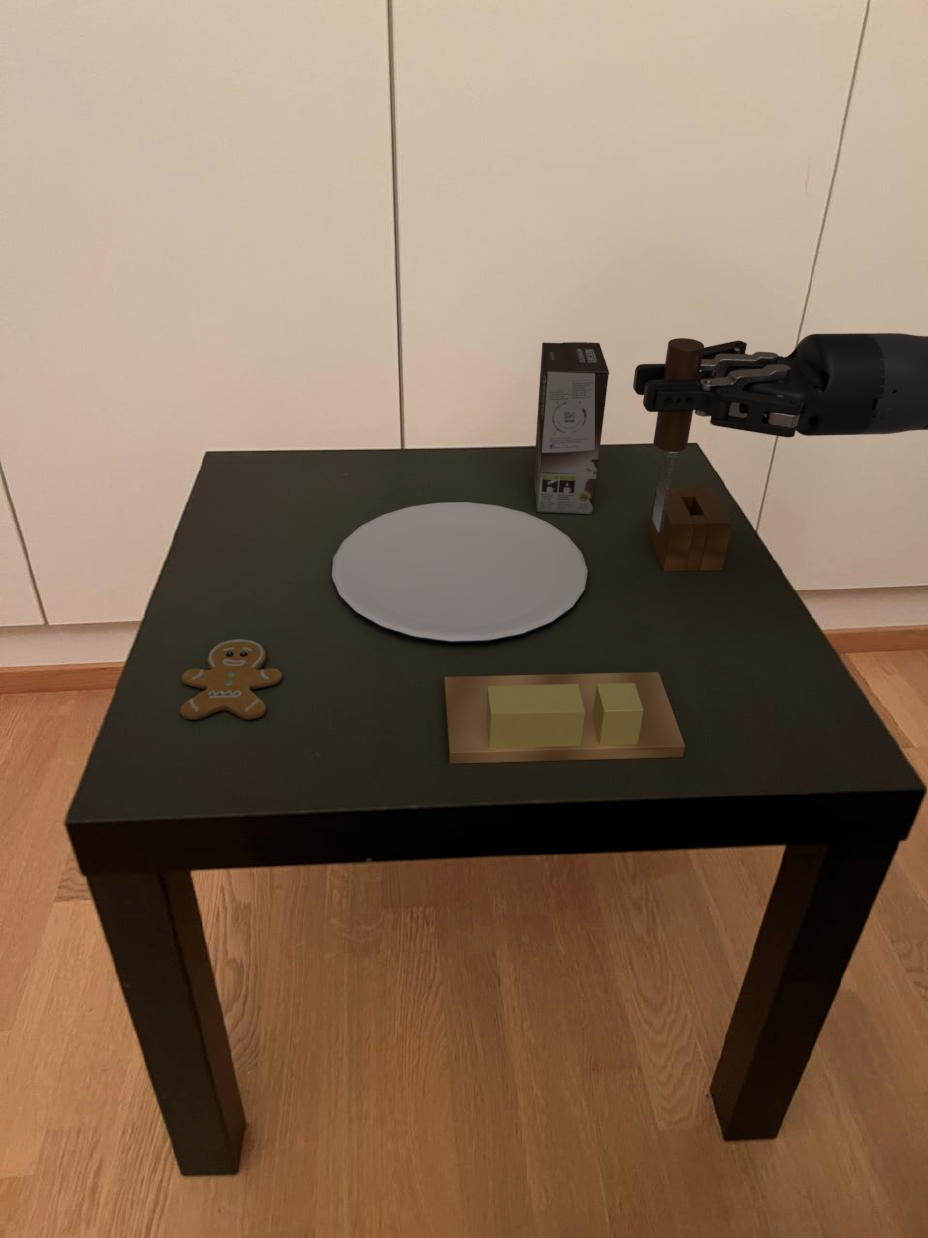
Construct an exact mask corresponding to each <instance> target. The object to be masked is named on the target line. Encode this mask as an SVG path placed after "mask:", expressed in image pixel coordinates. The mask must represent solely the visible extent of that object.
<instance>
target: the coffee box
mask: <svg viewBox="0 0 928 1238" xmlns="http://www.w3.org/2000/svg"><path fill="white" fill-rule="evenodd" d="M540 355H541V356H540V357H541V358H540V369H539V371H540V372H539V386H538V389H539V390H538V400H537V401H538V402H537V418H536V433H535V434H536V436H535V453H534V464H533V465H534V468H533V484H534V485H533V486H534V494H535V504H536V505H535V507H536V512H538V513H552V514H553V513H554V514H578V515H581V514H582V515H591V514H593V510H594V502H595V494H596V493H595V492H596V485H597V477H598V469H599V468H598V467H599V461H600V460H599V458H600V451H601V442H602V434H603V425H604V417H605V408H606V401H607V392H608V383H609V376H610V370H609V367H608V364H607V362H606V358H605V356H604V353H603V350H602V346H601V344H600V342H586V341H585V342H584V341H583V342H582V341H579V342H578V341H575V342H574V341H573V342H572V341H571V342H569V341H567V342H566V341H564V342H542V343H541V354H540Z"/></svg>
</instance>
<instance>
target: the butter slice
mask: <svg viewBox="0 0 928 1238" xmlns="http://www.w3.org/2000/svg"><path fill="white" fill-rule="evenodd" d="M643 711H644V710H643V706H642V703H641V700H640V697H639V694H638V691H637V688H636V685H635V683H606V684H597V686H596V693H595V701H594V709H593V716H592V718H593V722H594V726H595V730H596V734H597V738H598V742H599V745H619V744H638V740H639V734H640V728H641V722H642V717H643Z"/></svg>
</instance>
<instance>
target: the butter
mask: <svg viewBox="0 0 928 1238" xmlns="http://www.w3.org/2000/svg"><path fill="white" fill-rule="evenodd" d="M584 716H585V709H584V705H583V701H582V697H581V693H580V689H579V685H578V684H557V685H515V686H488V687H487V706H486V726H487V734H488V743H489V748H520V747H556V746H581V740H582V732H583V724H584Z"/></svg>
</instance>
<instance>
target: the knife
mask: <svg viewBox="0 0 928 1238" xmlns="http://www.w3.org/2000/svg"><path fill="white" fill-rule="evenodd" d="M704 348H705V344H704V343H703V342H702V341H700V340H697V339H694V338H687V337H681V338H680V337H678V338H673V339H669V341H668V342H667V348H666V354H665V362H664V364H665V367H664V374H663V380H682V379H683V380H688V379H696V381H697V382H698V380H699V374H700V368H701V362H702V356H703V351H704ZM693 414H694V410H693V411H681V412H657V415H656V416H657V417H656V420H655V421H656V422H655V429H654V436H653V446H654V447H655V448H657V449H659V450H661V451H662V452H661V453H662V454H661V460H660V467H659V473H658V479H657V485H656V489H657V491H656V498H655V504H654V511H653V517H652V520H653V522H654V524H655V526H656V529H657V531H658V533H659V534H662V531H663V525H664V519H665V513H666V507H667V501H668V495H669V489H671V482H672V476H673V475H672V474H673V471H674V470H673V469H674V463H675V460H677V459H679V454H680V452H682V451H685V450H686V449H687V448H688V445H689V444H688V443H689V437H690V431H691V426H692V420H693Z"/></svg>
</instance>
